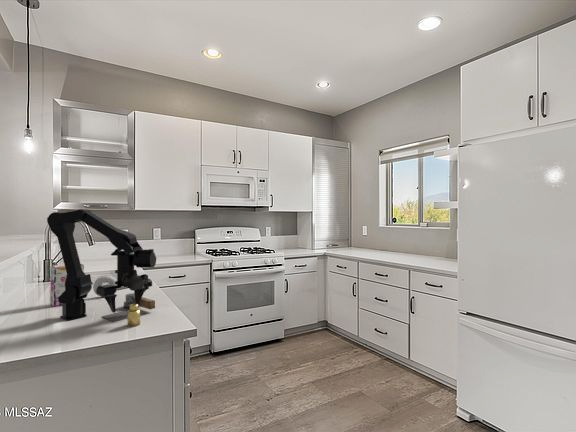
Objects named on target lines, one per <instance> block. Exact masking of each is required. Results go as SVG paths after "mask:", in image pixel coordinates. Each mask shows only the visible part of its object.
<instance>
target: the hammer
mask: <svg viewBox="0 0 576 432" xmlns="http://www.w3.org/2000/svg"><path fill="white" fill-rule="evenodd" d="M131 304H135V295H134V292H133V293H132V292H131V293H127V294H125V301H123V308H126V309H128V308H129V305H131ZM138 307H140V308H144V309H147V310H154V309H156V300H154V299H150V298H146V297H143V296H142V298H141V301H140V303H139V306H138Z"/></svg>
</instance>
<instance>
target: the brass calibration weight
mask: <svg viewBox="0 0 576 432" xmlns="http://www.w3.org/2000/svg"><path fill="white" fill-rule="evenodd" d="M126 312H127V318H126V319H127V320H126V321H127V323H126V325H127V327H129V328H134V327H138V326H140V325H141V309H140V308H139V306H138V304H131V305H129V310H127V311H126Z"/></svg>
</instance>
